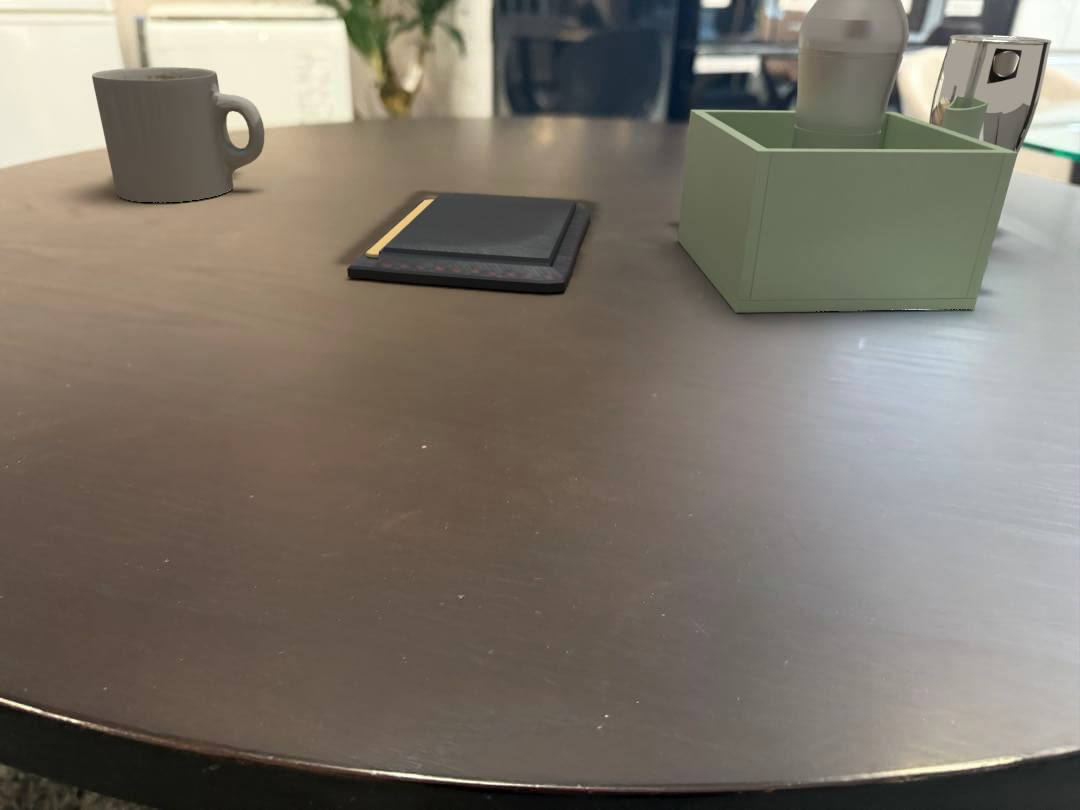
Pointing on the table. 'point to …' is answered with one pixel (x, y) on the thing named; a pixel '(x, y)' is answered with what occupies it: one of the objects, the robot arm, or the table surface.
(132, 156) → the coffee mug
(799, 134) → the plastic bottle
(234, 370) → the table surface
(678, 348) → the table surface
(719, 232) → the bin
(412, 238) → the wallet
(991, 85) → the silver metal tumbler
